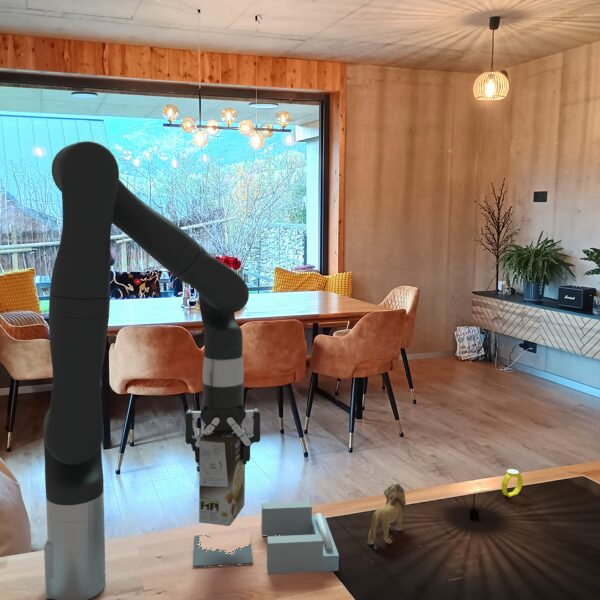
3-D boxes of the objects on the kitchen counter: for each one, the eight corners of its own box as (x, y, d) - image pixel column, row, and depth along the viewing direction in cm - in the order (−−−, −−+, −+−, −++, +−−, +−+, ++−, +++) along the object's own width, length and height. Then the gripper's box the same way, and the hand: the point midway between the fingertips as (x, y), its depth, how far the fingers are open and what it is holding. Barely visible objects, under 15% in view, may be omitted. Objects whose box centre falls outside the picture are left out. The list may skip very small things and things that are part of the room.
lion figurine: (383, 517, 140) (385, 477, 139) (408, 522, 138) (410, 482, 137) (363, 549, 127) (365, 505, 125) (389, 555, 125) (391, 511, 123)
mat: (192, 567, 119) (192, 565, 119) (194, 537, 129) (194, 535, 129) (252, 564, 120) (252, 562, 120) (249, 535, 131) (249, 533, 131)
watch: (508, 501, 150) (508, 477, 149) (498, 496, 152) (499, 472, 151) (525, 493, 153) (525, 470, 152) (515, 489, 155) (516, 466, 154)
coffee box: (231, 527, 119) (231, 443, 116) (198, 523, 120) (198, 440, 118) (245, 505, 128) (246, 426, 125) (214, 501, 129) (214, 423, 127)
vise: (267, 574, 117) (268, 543, 116) (261, 530, 133) (261, 503, 132) (338, 570, 119) (339, 540, 118) (323, 528, 134) (324, 500, 134)
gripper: (183, 385, 115) (183, 473, 118) (263, 384, 117) (262, 470, 120) (185, 374, 123) (185, 457, 125) (260, 373, 125) (259, 454, 127)
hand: (222, 463), depth 122 cm, fingers closed on coffee box, 7 cm apart
